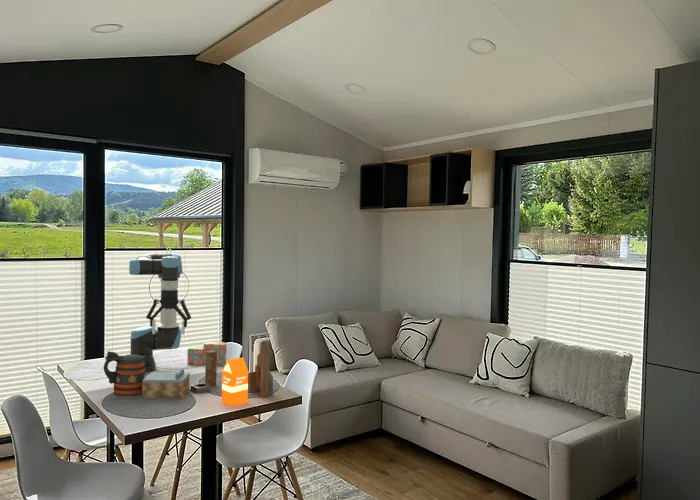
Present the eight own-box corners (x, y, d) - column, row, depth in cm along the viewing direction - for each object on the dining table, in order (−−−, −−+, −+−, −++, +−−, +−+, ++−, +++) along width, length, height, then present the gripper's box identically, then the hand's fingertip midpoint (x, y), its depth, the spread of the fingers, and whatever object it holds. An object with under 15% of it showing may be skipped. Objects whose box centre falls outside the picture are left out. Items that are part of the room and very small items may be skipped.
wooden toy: (245, 390, 261) (246, 340, 261) (257, 388, 266) (258, 338, 265) (262, 398, 250) (264, 345, 249) (274, 395, 254) (276, 343, 254)
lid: (142, 382, 246) (142, 374, 246) (151, 374, 260) (152, 367, 260) (182, 382, 248) (182, 374, 248) (189, 374, 262) (189, 367, 261)
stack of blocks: (187, 364, 310) (187, 343, 310) (189, 362, 317) (189, 341, 316) (224, 365, 312) (224, 344, 311) (226, 362, 318) (226, 342, 318)
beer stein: (106, 398, 244) (106, 355, 243) (101, 390, 256) (102, 349, 256) (149, 393, 254) (150, 351, 254) (143, 385, 267) (143, 345, 266)
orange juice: (247, 402, 244) (248, 358, 243) (231, 406, 237) (232, 361, 237) (237, 398, 249) (238, 355, 249) (221, 402, 243) (222, 358, 242)
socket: (197, 393, 255) (197, 388, 255) (190, 390, 260) (190, 385, 260) (211, 390, 260) (211, 385, 260) (203, 387, 265) (203, 382, 265)
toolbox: (142, 397, 247) (142, 382, 246) (151, 389, 261) (151, 374, 260) (182, 397, 248) (182, 382, 248) (189, 389, 262) (189, 375, 262)
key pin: (209, 386, 267) (209, 352, 267) (205, 384, 270) (205, 351, 270) (216, 385, 270) (216, 351, 270) (212, 383, 273) (213, 350, 272)
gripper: (140, 289, 248) (139, 334, 249) (195, 290, 251) (194, 335, 252) (144, 287, 256) (143, 331, 256) (197, 289, 258) (196, 332, 259)
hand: (168, 333), depth 254 cm, fingers open, 13 cm apart
